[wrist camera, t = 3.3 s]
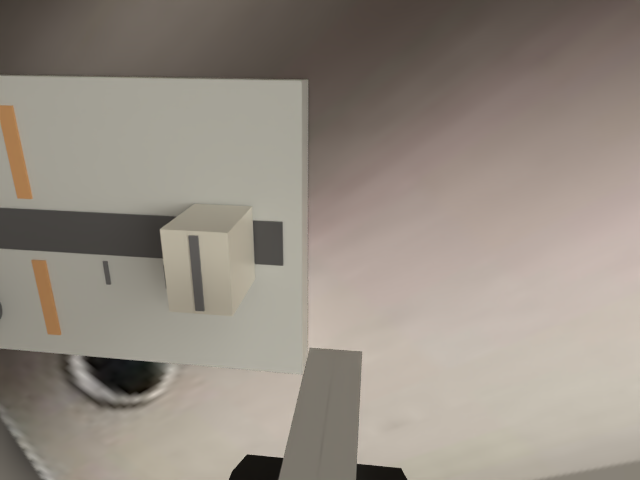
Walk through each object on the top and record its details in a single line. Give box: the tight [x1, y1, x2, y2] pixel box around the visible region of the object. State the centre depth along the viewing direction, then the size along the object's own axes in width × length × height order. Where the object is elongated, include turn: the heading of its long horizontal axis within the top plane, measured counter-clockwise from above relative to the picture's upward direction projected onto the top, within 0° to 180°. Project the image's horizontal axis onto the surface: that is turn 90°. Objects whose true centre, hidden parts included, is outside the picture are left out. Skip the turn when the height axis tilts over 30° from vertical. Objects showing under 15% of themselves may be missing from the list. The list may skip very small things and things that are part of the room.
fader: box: [160, 204, 255, 316], centre depth 22 cm, size 4×3×4 cm
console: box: [0, 75, 308, 375], centre depth 25 cm, size 16×22×4 cm
